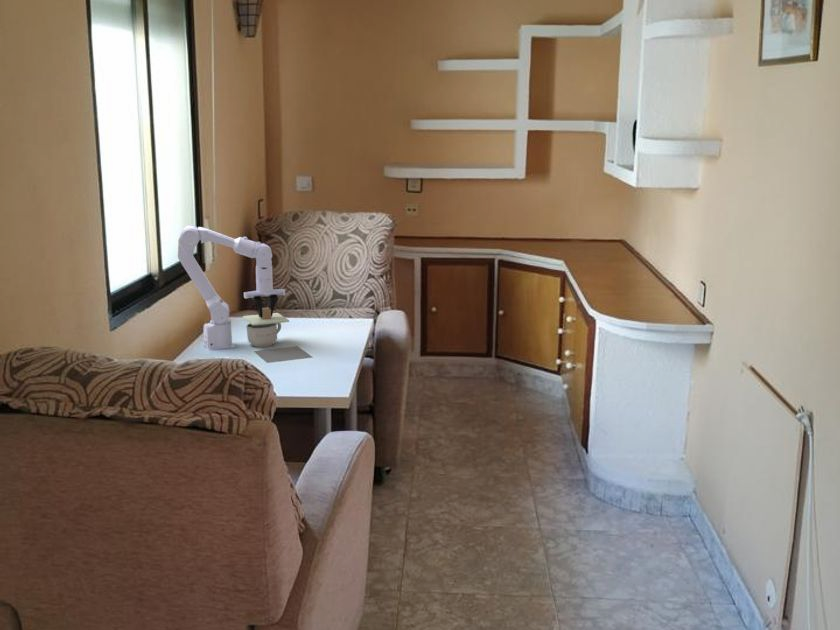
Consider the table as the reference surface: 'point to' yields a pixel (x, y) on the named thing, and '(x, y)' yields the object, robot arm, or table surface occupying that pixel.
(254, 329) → the teacup
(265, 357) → the mat
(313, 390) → the table surface
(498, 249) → the table surface
